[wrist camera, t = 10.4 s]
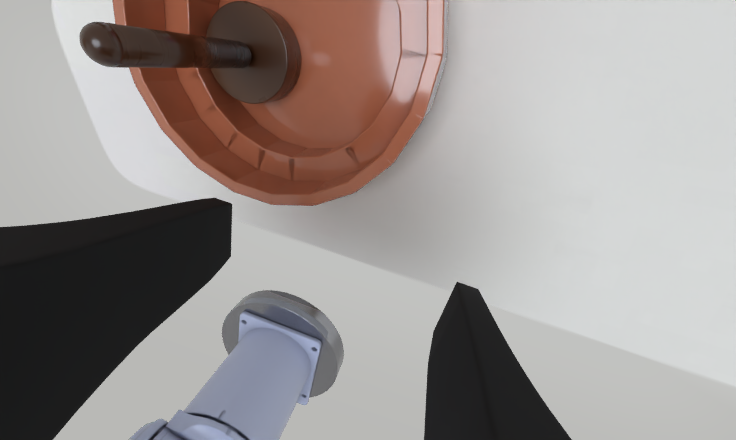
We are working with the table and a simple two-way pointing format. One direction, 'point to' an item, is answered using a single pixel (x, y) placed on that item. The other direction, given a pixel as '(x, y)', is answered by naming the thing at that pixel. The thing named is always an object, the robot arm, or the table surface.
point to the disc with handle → (211, 50)
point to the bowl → (302, 95)
